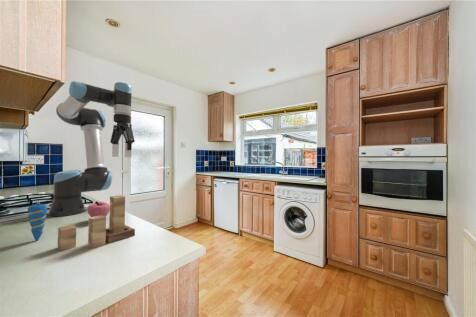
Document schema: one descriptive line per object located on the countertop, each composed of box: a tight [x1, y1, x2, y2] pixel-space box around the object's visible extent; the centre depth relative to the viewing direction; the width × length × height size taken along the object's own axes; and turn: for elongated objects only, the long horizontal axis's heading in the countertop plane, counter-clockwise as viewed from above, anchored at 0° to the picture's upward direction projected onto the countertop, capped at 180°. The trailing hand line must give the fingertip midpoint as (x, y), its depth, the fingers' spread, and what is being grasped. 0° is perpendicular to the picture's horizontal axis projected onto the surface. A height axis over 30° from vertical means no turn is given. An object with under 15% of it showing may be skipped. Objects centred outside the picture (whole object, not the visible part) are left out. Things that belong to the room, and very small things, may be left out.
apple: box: [87, 201, 110, 218], centre depth 98 cm, size 10×9×10 cm
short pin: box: [57, 224, 77, 252], centre depth 69 cm, size 4×4×7 cm
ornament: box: [27, 200, 48, 242], centre depth 74 cm, size 5×5×15 cm
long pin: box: [108, 194, 126, 234], centre depth 80 cm, size 4×4×16 cm
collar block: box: [105, 224, 136, 244], centre depth 80 cm, size 10×10×2 cm
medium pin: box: [87, 215, 107, 250], centre depth 72 cm, size 4×4×10 cm
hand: (121, 157), depth 100 cm, fingers open, 13 cm apart
